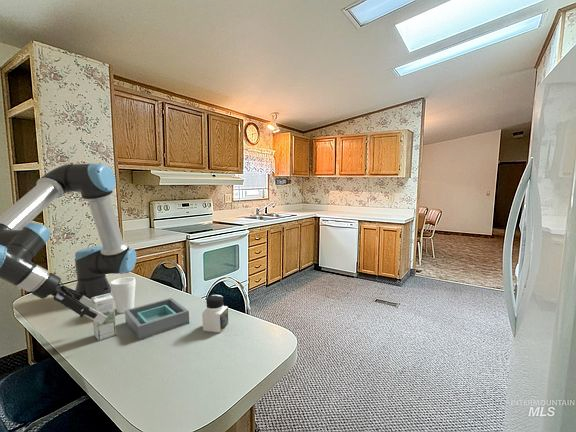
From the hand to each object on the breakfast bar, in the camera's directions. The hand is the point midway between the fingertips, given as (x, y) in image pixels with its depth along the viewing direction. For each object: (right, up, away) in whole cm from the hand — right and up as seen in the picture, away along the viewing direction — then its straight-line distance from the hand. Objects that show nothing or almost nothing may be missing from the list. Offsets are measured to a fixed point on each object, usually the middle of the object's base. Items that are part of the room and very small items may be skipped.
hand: (100, 313), depth 105 cm
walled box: (+15, -7, +11) cm, 20 cm away
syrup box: (+1, -9, +2) cm, 9 cm away
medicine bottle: (+39, -8, +7) cm, 40 cm away
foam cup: (-4, -6, +24) cm, 25 cm away
